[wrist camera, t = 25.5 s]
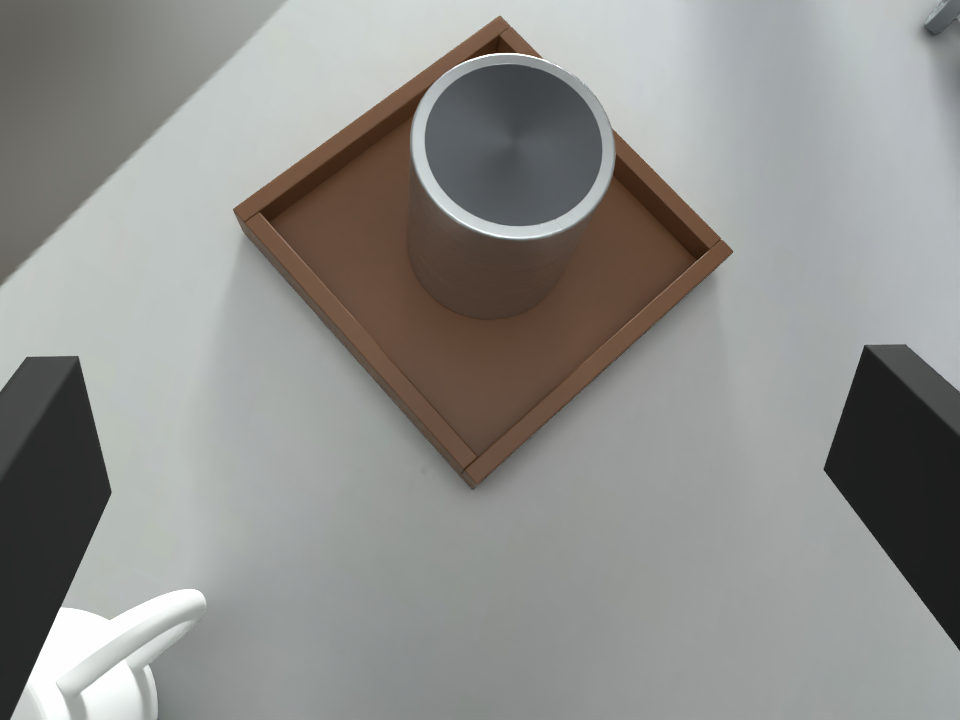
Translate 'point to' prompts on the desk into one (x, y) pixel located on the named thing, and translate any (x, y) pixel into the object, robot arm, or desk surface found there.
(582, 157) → the silver cup
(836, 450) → the robot arm
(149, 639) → the cup
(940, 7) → the toy car
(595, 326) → the tray
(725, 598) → the desk surface
